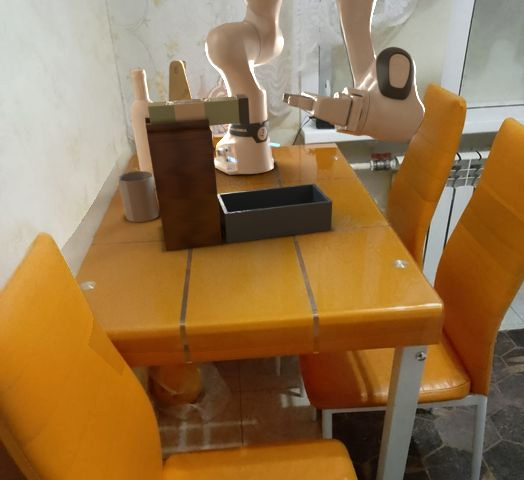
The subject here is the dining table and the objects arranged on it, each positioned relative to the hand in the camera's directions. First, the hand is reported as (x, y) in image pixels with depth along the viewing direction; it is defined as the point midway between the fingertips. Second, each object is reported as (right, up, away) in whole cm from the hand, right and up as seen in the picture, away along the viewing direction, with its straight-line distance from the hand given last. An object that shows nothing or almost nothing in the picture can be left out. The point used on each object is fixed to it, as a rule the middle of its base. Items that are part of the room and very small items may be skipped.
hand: (285, 98), depth 102 cm
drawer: (-18, -6, -1) cm, 19 cm away
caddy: (-29, +16, +70) cm, 77 cm away
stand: (-22, -26, +12) cm, 36 cm away
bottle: (-37, -3, +44) cm, 57 cm away
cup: (-36, -18, +24) cm, 46 cm away
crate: (-2, -23, +15) cm, 27 cm away
